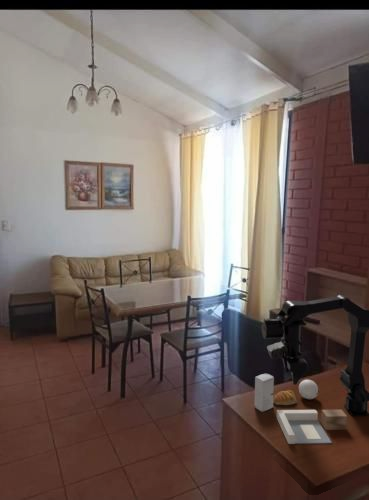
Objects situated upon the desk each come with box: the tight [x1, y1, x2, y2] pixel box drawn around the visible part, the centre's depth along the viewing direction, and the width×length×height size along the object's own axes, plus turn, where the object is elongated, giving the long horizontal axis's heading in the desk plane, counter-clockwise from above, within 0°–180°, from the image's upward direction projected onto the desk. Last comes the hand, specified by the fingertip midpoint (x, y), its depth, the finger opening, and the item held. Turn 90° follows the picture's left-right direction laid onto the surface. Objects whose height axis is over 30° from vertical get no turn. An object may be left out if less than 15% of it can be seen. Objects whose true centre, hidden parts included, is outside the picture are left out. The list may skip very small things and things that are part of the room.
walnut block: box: [320, 409, 348, 431], centre depth 123 cm, size 7×4×5 cm, turn 91°
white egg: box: [298, 379, 320, 400], centre depth 141 cm, size 10×7×7 cm
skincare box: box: [254, 373, 275, 413], centre depth 134 cm, size 6×4×12 cm
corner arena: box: [276, 409, 333, 445], centre depth 121 cm, size 14×14×3 cm
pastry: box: [273, 389, 297, 406], centre depth 138 cm, size 9×7×4 cm
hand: (290, 378), depth 129 cm, fingers open, 9 cm apart
